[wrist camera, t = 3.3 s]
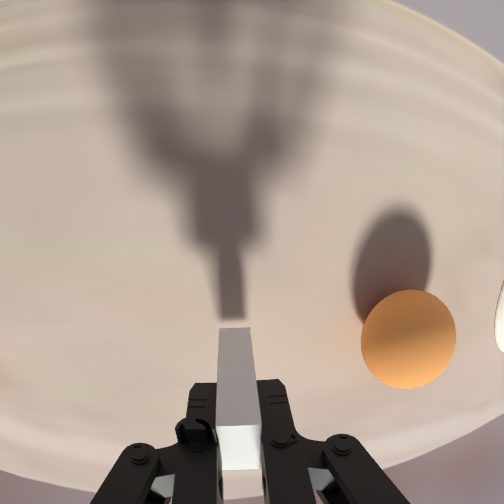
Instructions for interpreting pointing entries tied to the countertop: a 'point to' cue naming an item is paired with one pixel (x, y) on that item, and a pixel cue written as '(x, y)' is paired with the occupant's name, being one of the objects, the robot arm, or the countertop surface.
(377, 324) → the ball
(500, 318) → the white plate
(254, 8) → the countertop surface
